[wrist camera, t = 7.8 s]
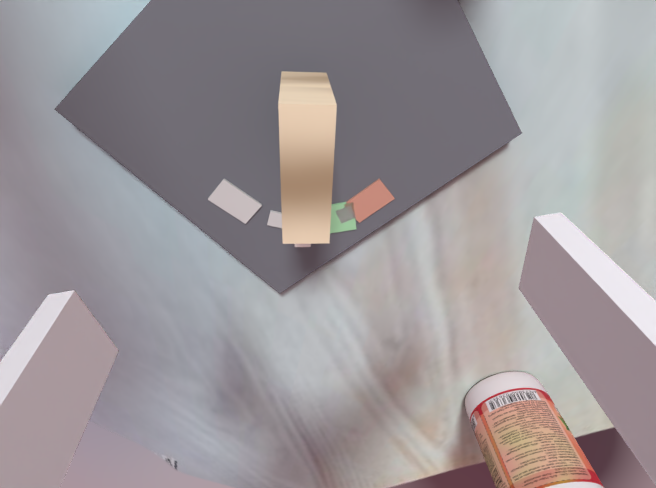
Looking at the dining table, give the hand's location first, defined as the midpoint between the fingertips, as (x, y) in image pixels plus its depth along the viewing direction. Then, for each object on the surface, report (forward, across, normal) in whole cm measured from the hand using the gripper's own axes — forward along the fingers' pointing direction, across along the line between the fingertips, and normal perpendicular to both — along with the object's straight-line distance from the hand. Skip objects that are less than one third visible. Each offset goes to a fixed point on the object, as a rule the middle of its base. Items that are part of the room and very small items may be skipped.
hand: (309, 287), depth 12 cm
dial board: (+18, 0, -1) cm, 18 cm away
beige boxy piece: (+16, 0, -3) cm, 16 cm away
